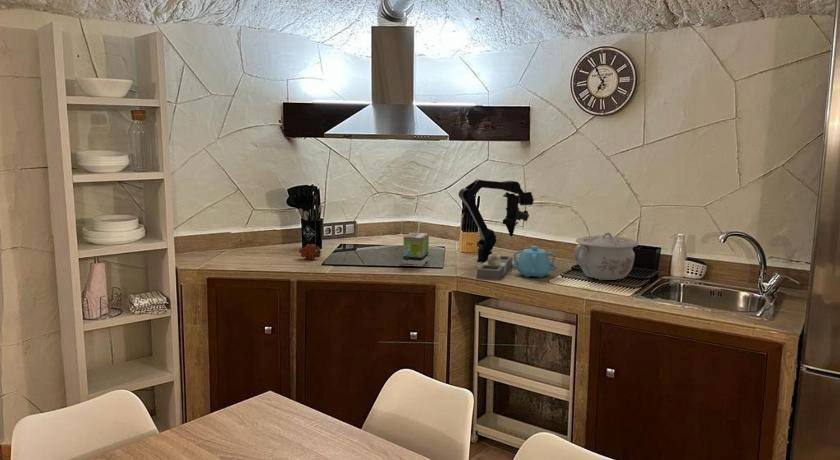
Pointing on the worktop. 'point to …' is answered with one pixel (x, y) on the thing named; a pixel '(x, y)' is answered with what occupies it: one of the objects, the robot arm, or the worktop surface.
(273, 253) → the worktop surface
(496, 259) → the cream block
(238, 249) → the worktop surface
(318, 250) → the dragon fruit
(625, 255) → the chamber pot
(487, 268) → the trap deck
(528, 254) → the decorative pot
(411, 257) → the tea box
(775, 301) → the worktop surface
